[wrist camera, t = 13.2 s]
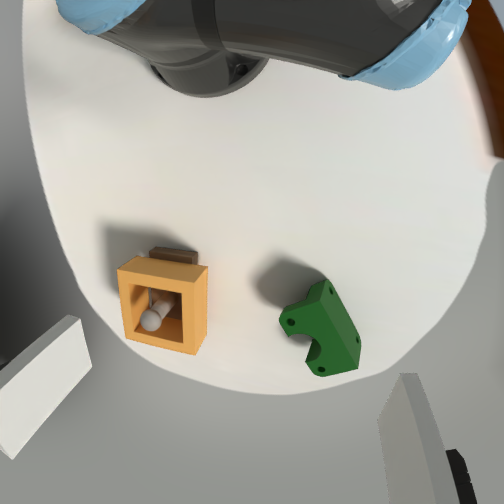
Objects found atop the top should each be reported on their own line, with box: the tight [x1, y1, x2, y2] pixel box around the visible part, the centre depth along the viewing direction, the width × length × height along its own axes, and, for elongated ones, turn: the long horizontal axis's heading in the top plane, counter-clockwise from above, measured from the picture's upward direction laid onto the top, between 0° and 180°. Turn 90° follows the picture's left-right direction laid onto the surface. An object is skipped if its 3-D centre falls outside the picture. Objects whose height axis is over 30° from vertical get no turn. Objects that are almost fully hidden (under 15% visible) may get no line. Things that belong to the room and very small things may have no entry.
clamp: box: [279, 280, 361, 377], centre depth 36 cm, size 12×6×9 cm, turn 27°
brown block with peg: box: [140, 247, 198, 331], centre depth 37 cm, size 14×6×10 cm, turn 176°
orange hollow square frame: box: [117, 256, 208, 355], centre depth 37 cm, size 10×10×5 cm
